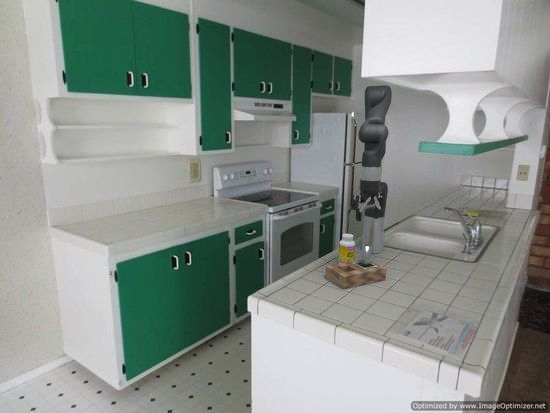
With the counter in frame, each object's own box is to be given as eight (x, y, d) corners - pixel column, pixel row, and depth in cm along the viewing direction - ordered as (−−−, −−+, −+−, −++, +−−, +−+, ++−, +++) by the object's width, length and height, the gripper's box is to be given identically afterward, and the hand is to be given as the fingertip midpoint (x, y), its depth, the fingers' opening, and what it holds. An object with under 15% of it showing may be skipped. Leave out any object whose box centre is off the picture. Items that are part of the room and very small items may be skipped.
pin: (365, 272, 159) (367, 243, 156) (371, 275, 156) (373, 246, 153) (358, 273, 157) (360, 244, 155) (363, 276, 154) (366, 247, 151)
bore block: (365, 269, 164) (366, 257, 163) (385, 280, 154) (386, 267, 153) (325, 277, 155) (325, 265, 154) (343, 289, 145) (344, 275, 144)
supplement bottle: (346, 267, 166) (348, 238, 163) (334, 262, 171) (336, 234, 168) (357, 264, 170) (359, 235, 167) (345, 260, 175) (347, 232, 172)
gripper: (377, 175, 156) (374, 215, 159) (348, 178, 149) (346, 219, 153) (391, 178, 149) (388, 220, 153) (362, 181, 143) (359, 224, 146)
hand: (367, 219), depth 153 cm, fingers open, 8 cm apart
